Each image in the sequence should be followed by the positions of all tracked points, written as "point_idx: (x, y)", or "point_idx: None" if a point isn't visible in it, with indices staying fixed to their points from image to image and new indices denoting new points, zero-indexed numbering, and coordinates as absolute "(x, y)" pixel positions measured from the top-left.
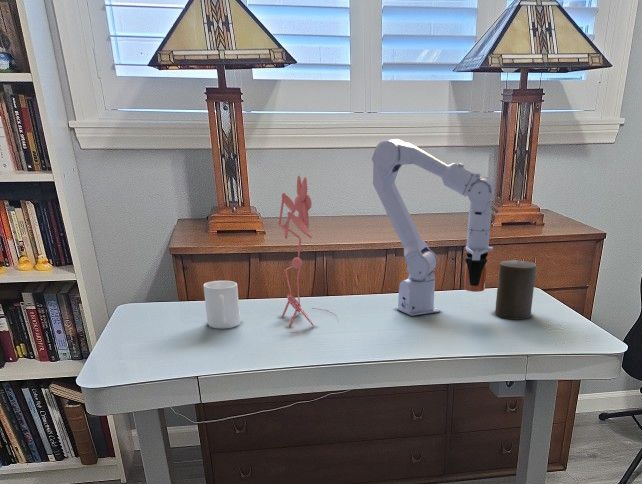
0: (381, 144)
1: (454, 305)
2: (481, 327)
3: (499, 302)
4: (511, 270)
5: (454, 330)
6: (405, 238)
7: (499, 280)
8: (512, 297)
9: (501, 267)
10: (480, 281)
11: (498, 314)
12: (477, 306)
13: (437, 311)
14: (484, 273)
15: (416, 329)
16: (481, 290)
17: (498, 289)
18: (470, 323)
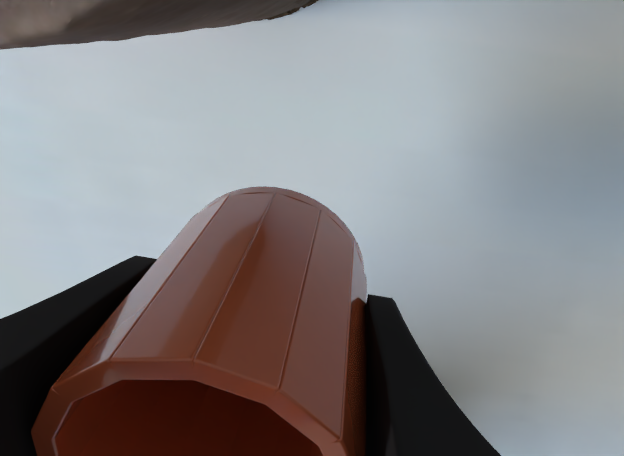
0: None
1: (105, 253)
2: (565, 158)
3: (290, 3)
4: None
5: (597, 309)
6: None
7: (186, 27)
8: None
9: (108, 27)
10: (356, 296)
11: (307, 3)
12: (84, 125)
13: None
14: (307, 311)
15: (546, 448)
16: (345, 226)
17: (223, 24)
18: (469, 212)
